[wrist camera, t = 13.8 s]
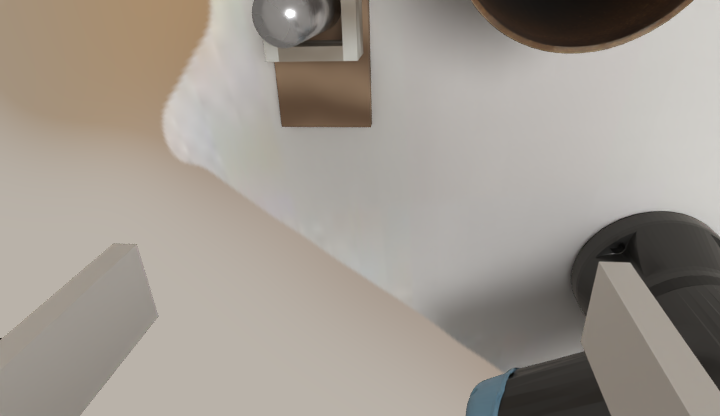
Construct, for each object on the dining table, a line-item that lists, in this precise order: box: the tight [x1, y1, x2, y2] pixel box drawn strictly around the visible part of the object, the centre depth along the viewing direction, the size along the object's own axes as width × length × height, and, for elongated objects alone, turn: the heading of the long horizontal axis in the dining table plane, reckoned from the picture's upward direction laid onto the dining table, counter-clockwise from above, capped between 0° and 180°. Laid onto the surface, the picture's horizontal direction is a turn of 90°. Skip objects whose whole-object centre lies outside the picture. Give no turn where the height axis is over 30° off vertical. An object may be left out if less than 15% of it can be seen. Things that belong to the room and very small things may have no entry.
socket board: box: [263, 0, 372, 127], centre depth 41 cm, size 15×9×5 cm, turn 2°
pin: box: [252, 0, 341, 48], centre depth 35 cm, size 4×4×12 cm
